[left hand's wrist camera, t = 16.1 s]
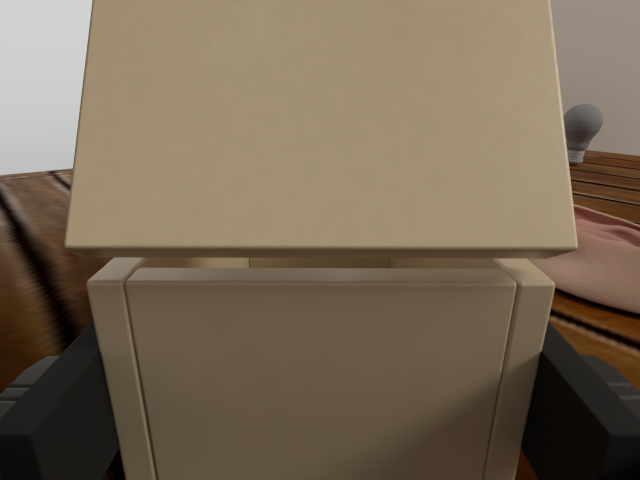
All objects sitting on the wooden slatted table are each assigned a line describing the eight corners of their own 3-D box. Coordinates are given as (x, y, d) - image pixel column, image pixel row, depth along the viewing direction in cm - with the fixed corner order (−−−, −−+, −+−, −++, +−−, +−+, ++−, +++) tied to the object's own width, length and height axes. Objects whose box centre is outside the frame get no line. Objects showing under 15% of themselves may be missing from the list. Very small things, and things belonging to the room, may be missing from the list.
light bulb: (562, 166, 74) (574, 104, 70) (548, 160, 79) (559, 102, 76) (599, 167, 73) (614, 104, 70) (583, 161, 79) (595, 103, 75)
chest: (241, 318, 27) (230, 155, 23) (396, 318, 27) (409, 155, 23) (148, 603, 12) (83, 281, 9) (489, 603, 12) (558, 283, 9)
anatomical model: (773, 271, 23) (537, 242, 28) (747, 335, 25) (527, 298, 29) (688, 208, 35) (531, 194, 39) (673, 254, 36) (523, 236, 40)
